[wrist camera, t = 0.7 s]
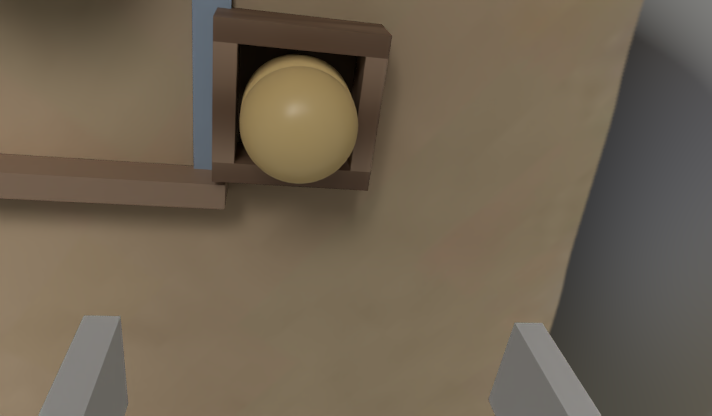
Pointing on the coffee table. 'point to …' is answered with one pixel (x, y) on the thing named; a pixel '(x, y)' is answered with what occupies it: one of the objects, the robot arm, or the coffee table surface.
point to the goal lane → (133, 178)
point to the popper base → (297, 35)
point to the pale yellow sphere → (298, 119)
